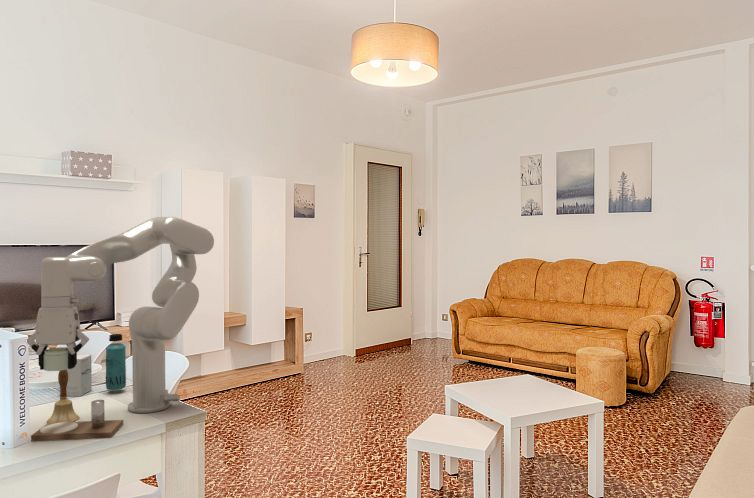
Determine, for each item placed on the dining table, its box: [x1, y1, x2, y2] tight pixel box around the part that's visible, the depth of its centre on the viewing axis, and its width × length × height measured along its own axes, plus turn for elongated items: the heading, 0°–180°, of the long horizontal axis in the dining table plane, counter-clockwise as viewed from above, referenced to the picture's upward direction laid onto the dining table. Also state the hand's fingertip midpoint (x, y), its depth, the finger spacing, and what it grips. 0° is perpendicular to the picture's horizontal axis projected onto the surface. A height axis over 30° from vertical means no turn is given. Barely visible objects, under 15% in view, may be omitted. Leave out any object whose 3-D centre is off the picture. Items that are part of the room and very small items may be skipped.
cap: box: [42, 346, 70, 372], centre depth 152 cm, size 6×6×6 cm
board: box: [30, 419, 124, 442], centre depth 153 cm, size 20×10×2 cm, turn 97°
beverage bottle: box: [105, 333, 127, 391], centre depth 192 cm, size 6×7×20 cm
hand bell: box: [46, 370, 80, 424], centre depth 163 cm, size 8×8×16 cm
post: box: [90, 399, 105, 429], centre depth 153 cm, size 3×3×7 cm
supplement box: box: [59, 354, 93, 397], centre depth 190 cm, size 7×7×13 cm
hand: (57, 367), depth 152 cm, fingers closed on cap, 6 cm apart
